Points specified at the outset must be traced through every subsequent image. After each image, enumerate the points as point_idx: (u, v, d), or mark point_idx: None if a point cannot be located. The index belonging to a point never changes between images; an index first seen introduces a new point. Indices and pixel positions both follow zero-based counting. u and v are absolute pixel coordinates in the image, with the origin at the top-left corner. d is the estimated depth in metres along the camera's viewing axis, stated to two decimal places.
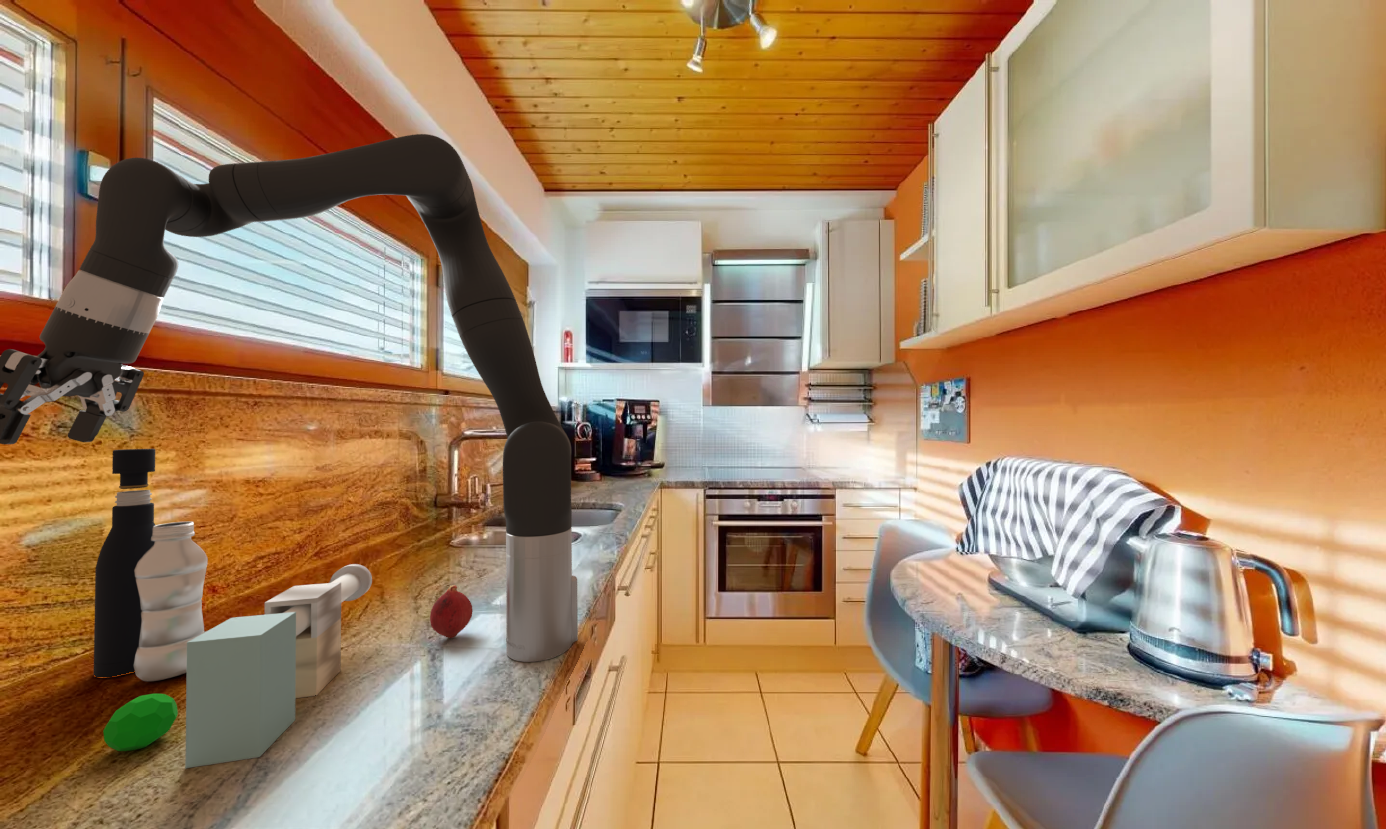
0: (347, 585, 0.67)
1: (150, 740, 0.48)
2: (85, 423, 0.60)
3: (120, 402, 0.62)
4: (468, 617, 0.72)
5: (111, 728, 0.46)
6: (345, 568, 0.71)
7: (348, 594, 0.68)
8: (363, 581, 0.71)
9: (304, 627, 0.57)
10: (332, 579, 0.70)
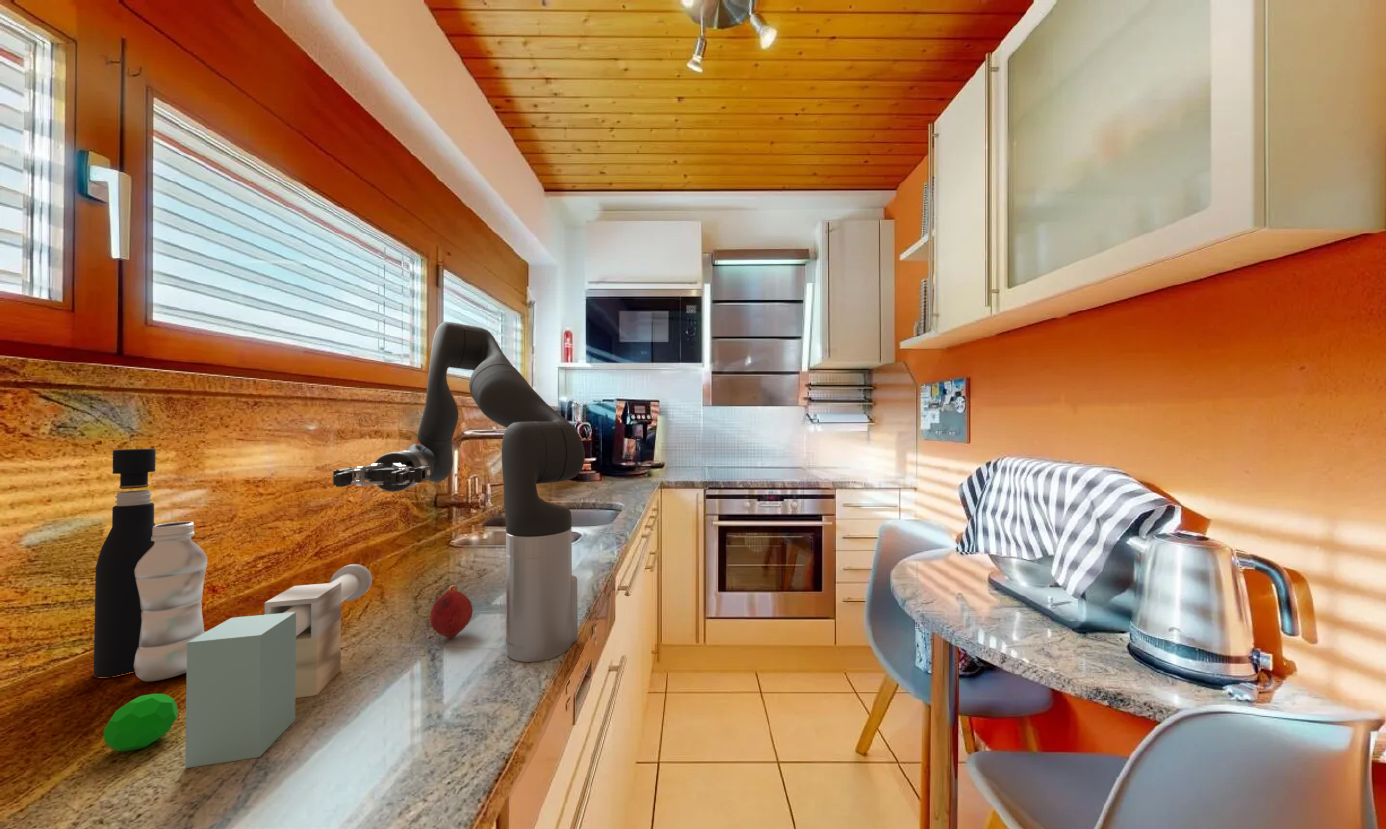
0: (347, 585, 0.67)
1: (150, 740, 0.48)
2: None
3: None
4: (468, 617, 0.72)
5: (111, 728, 0.46)
6: (345, 568, 0.71)
7: (348, 594, 0.68)
8: (363, 581, 0.71)
9: (304, 627, 0.57)
10: (332, 579, 0.70)
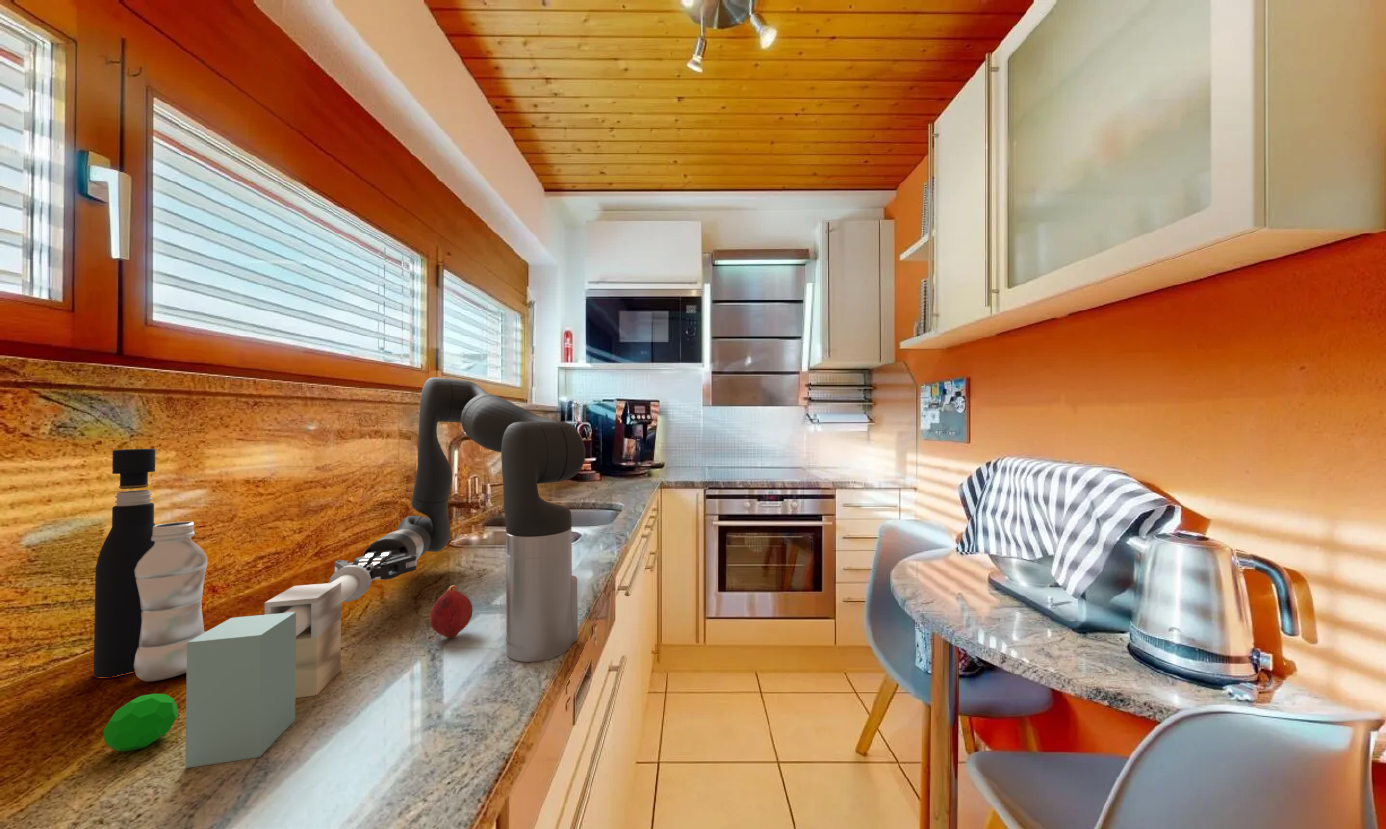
0: (346, 586, 0.67)
1: (150, 740, 0.48)
2: None
3: None
4: (468, 617, 0.72)
5: (111, 728, 0.46)
6: (344, 569, 0.70)
7: (347, 595, 0.67)
8: (362, 582, 0.71)
9: (302, 628, 0.56)
10: (331, 580, 0.70)
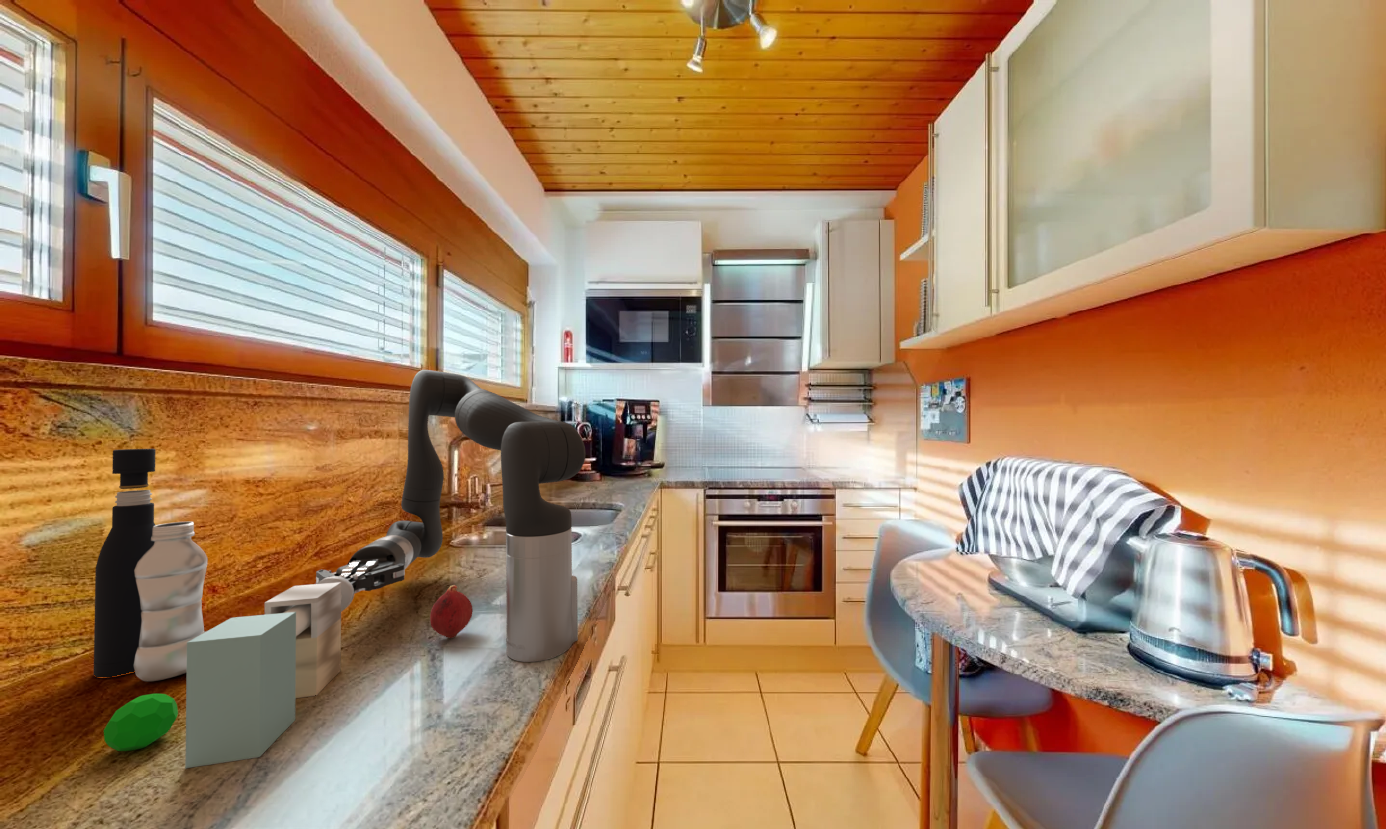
0: None
1: (150, 740, 0.48)
2: None
3: None
4: (468, 617, 0.72)
5: (111, 728, 0.46)
6: (324, 581, 0.65)
7: None
8: (344, 595, 0.66)
9: None
10: None
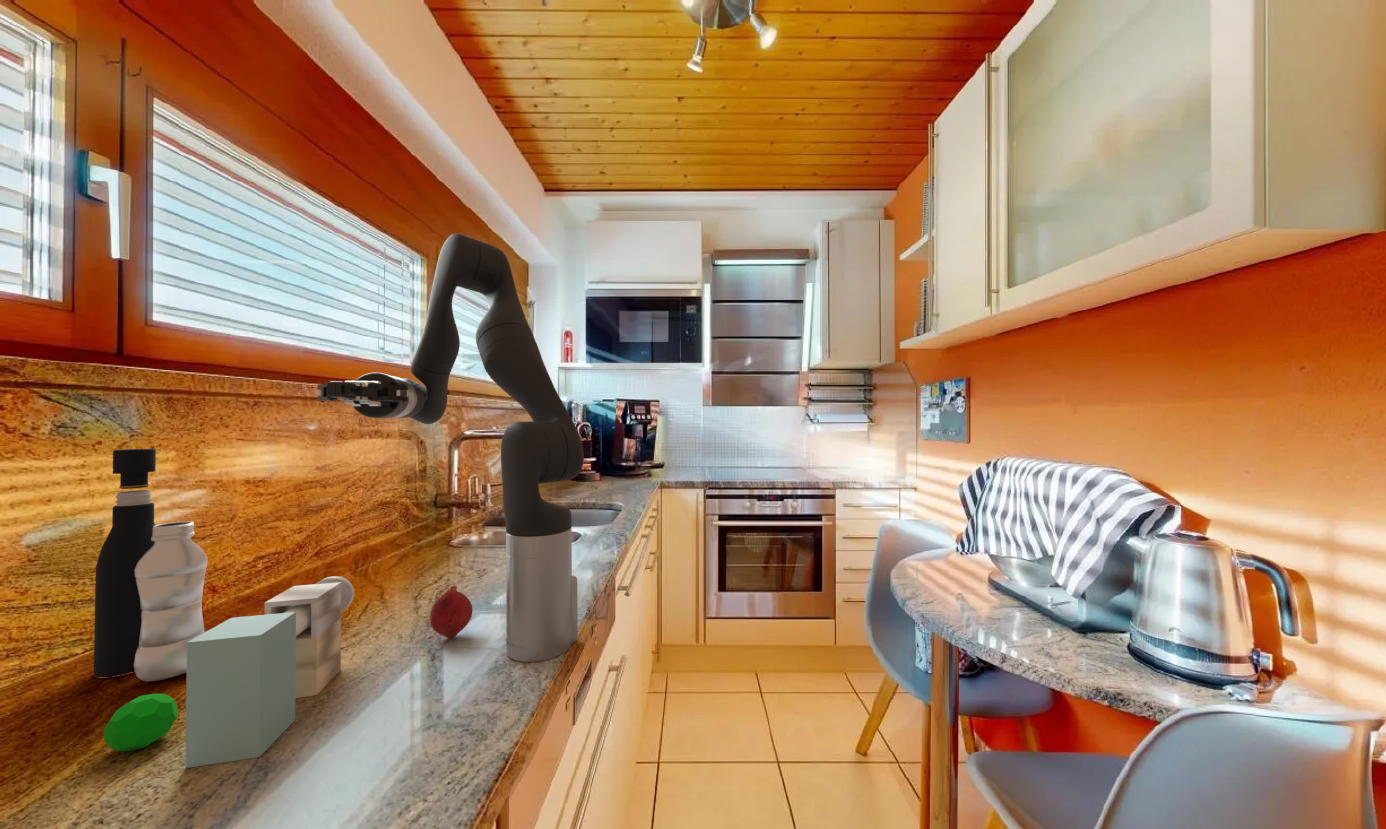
0: None
1: (150, 740, 0.48)
2: None
3: None
4: (468, 617, 0.72)
5: (111, 728, 0.46)
6: (324, 581, 0.65)
7: None
8: (344, 595, 0.66)
9: None
10: None
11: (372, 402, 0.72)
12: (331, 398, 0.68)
